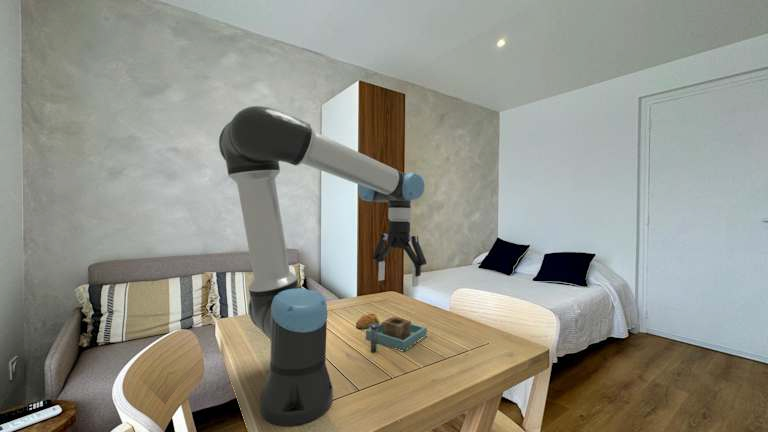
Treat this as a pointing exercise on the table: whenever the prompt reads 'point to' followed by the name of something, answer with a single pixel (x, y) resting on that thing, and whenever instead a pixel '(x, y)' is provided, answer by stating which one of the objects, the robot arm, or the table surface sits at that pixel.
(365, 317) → the pastry
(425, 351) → the table surface
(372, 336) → the metal bolt
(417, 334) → the tray
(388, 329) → the collar
